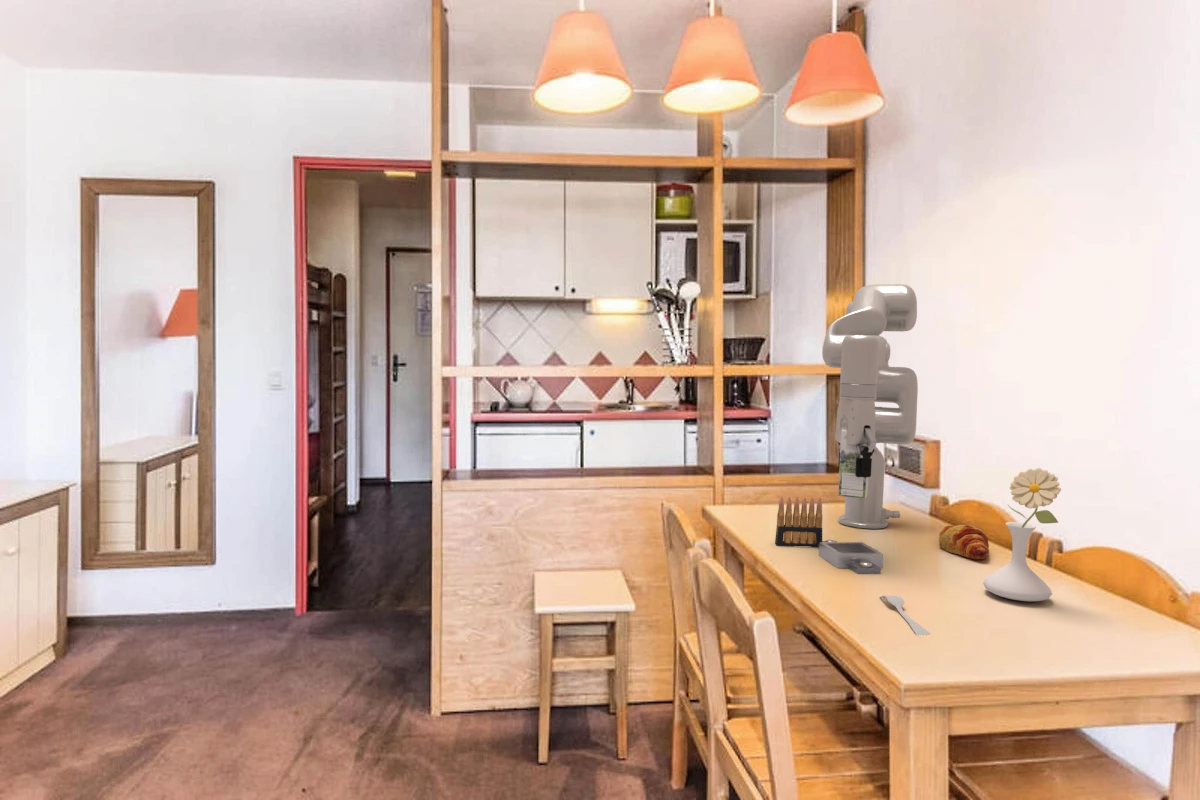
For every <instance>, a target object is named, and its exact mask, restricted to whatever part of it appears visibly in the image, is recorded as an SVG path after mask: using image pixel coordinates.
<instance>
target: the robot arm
mask: <svg viewBox="0 0 1200 800" xmlns="http://www.w3.org/2000/svg"><path fill="white" fill-rule="evenodd" d="M917 319H918V302H917V296H916V292H915V290H914V289H913V287H911V286H910V285H907V284H896V283H895V284H868V285H864V286H862V287H861V288H859V289H858V290H857V291H856V293H855V294H854V297H853V301H851V302H849V303H848V304H847V306H846V310H845V315H843V316H842V317H839V318H837V319H836V320H834V321H833V322H831V323H830V325H829V326H828V328H827V330H826V332H825V336H824V341H823V343H822V350H821V351H822V352H821V355H822V360H823V362H824V364H826V366H828V367H830V368H833V369H840V377H839V401H838V407H837V412H836V420H835V421H836V422H835V434H834V438H835V441H836V442H837V444H838V449H837V450H838V465H837V466H838V470H839V469H840V448H841V430H842V429H844V430H846V431H847V443H846V444H847V445H849V446H855V445H856V449H857V454H858V458H856V472H855V476H856V477H868V494H867V496H866V498H854V497H845V496H844V497H845V503H844V515H843V514H842V515H839V516H838V517H837V518H838V522H839V523H840V525H841V524H842V525H844V526H847V527H852V528H859V529H870V530H871V529H872V530H873V529H874V530H877V529H885V528H888V526H889V521H888V520H889V518H890V519H900V517H901V513H900V511H899V510H890V509H887V508H885V507H883V506H884V488H885V485H884V484H885V468H886V462H885V457H884V455H883V453H882V452H881V451H880V449H879V448H878V447H877V444H887V445H888V444H892V445H908V444H911V443H912V442H913V441H914V440H915V437H916V433H917V414H918V391H919V389H918V377H917V373H916V372H915V371H914V369H912V368H909V367H903V366H902V367H901V366H890V365H889V361H890V358H891V345H890V343H888V340H887V339H886V338H885V337H883V336H881V334H882V333H883V332H909V331H911V330H913V329H914V327H915V325H916V322H917ZM876 403H891V404H892V403H894V404H896V405H897V406H898V407H886V406H885V407H883V406H876ZM863 434H864V436H865V438H866V440H867V443H860V441H862V437H863ZM862 448H864V449H863V451H862Z"/></svg>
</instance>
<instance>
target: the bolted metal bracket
mask: <svg viewBox="0 0 1200 800" xmlns="http://www.w3.org/2000/svg"><path fill="white" fill-rule="evenodd" d="M816 548H818V556H819V557H820V558H822V559H823V560H825V561H826V562H828V563H829V564H831V565H832V566H834V567H835V568H836V569H850V571H852V572H854V573H855V574H858V575H861V574H865V575H866V574H868V575H870V574H871V575H872V574H873V575H874V574H881V573H882V571H881V569H883V568H884V553H882V552H880V551H879V550H877V549H875V548H873V547H872V546H870V545H868V544H866V543H865V542H863V541H855V542H854V541H837V540H832V539H825V540H822V542H817V547H816Z"/></svg>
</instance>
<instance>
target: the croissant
mask: <svg viewBox="0 0 1200 800" xmlns="http://www.w3.org/2000/svg"><path fill="white" fill-rule="evenodd" d="M938 542H939V544H938V545H939V548H941V549H943V550H945V551H946V552H948V553H950V552H951V553H950V554H955V555H957V554H958V555H960V556H962V557H963V556H964V558H968V559H971V560H972V559H973V560H982V559H983V558H984V559H986V558H987V557H988V556H989V553H990V549H989V547H990V544H989V538H988V537H987V536H986V534H985V532H984V531H982V530H981V529H980V528H978V527H976V526H973V525H970V524H957V525H947V526H944V528H942V529H941V531H940V532H939V534H938Z"/></svg>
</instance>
